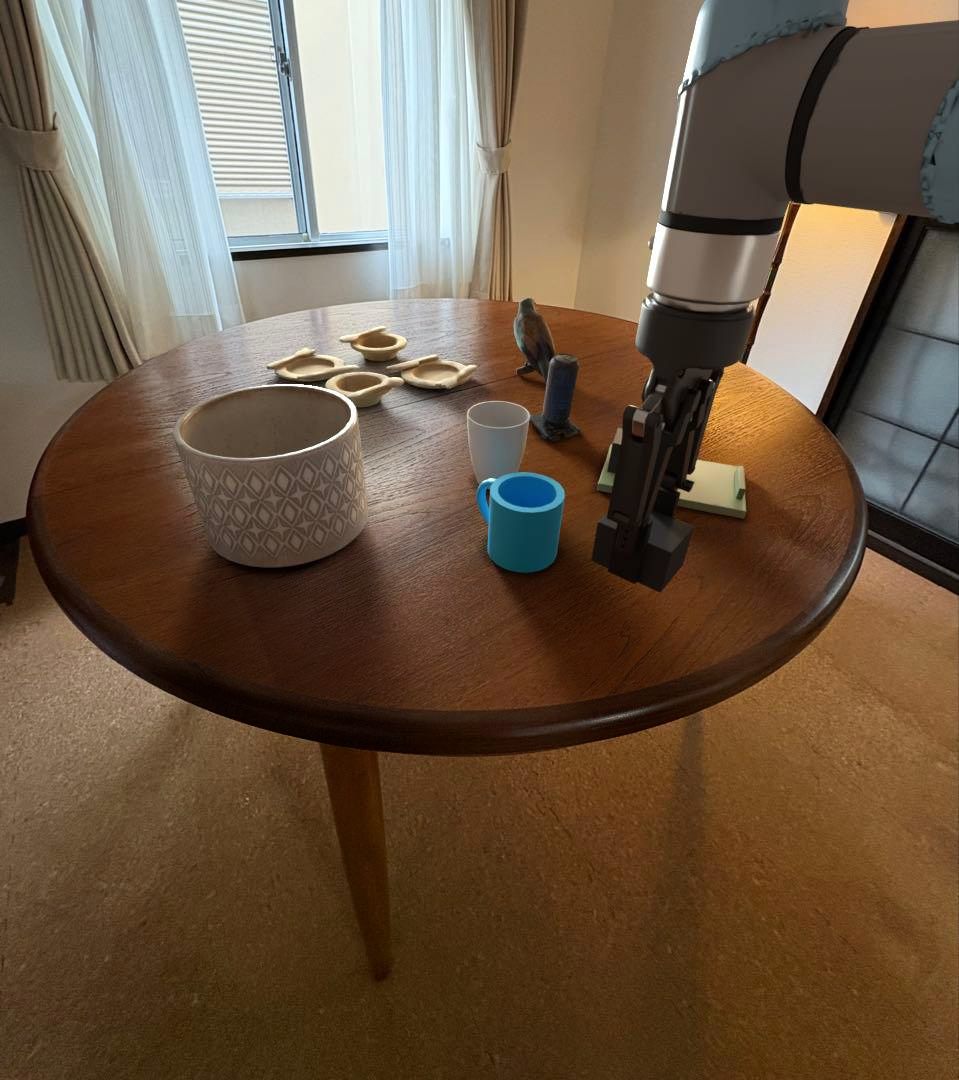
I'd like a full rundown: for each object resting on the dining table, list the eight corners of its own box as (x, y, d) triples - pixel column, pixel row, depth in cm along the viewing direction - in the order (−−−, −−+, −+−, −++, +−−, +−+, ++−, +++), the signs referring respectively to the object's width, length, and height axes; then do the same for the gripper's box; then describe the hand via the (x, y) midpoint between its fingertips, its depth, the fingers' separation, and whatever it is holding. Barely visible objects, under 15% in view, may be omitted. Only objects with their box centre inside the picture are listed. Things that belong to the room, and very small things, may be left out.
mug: (571, 552, 66) (580, 494, 61) (521, 582, 61) (527, 522, 56) (501, 508, 73) (504, 452, 68) (452, 532, 68) (452, 474, 63)
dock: (740, 474, 81) (753, 439, 78) (743, 519, 72) (758, 481, 69) (609, 451, 86) (615, 416, 82) (596, 490, 77) (603, 453, 73)
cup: (535, 487, 77) (542, 419, 71) (484, 502, 74) (487, 433, 68) (504, 461, 83) (508, 396, 76) (455, 474, 79) (455, 408, 73)
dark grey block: (682, 565, 52) (694, 526, 50) (660, 593, 49) (671, 553, 47) (615, 536, 56) (623, 498, 53) (590, 560, 53) (597, 521, 50)
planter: (400, 531, 68) (392, 422, 59) (254, 602, 58) (218, 483, 49) (319, 472, 79) (302, 372, 70) (184, 523, 68) (144, 413, 60)
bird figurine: (585, 392, 102) (576, 277, 99) (533, 396, 100) (522, 279, 97) (561, 402, 115) (552, 301, 112) (514, 406, 113) (504, 304, 111)
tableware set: (491, 381, 107) (492, 360, 104) (368, 429, 89) (365, 405, 87) (376, 337, 125) (375, 318, 123) (256, 370, 108) (251, 349, 106)
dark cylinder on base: (587, 434, 90) (599, 360, 83) (549, 445, 87) (557, 369, 80) (552, 413, 96) (561, 342, 89) (516, 422, 93) (521, 350, 86)
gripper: (696, 268, 46) (642, 505, 60) (586, 313, 35) (550, 593, 49) (793, 283, 42) (711, 532, 56) (705, 339, 31) (629, 633, 45)
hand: (637, 560), depth 52 cm, fingers closed on dark grey block, 5 cm apart
